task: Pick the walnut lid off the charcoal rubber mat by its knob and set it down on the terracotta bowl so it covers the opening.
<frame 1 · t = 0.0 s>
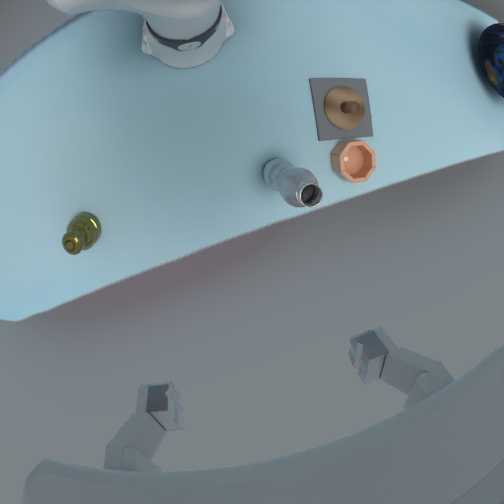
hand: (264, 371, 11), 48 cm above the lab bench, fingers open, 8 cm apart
lid: (344, 107, 50), point 1 cm above the lab bench, touching mat
bowl: (348, 159, 56), on the lab bench
globe: (484, 63, 46), on the lab bench
mat: (342, 107, 51), on the lab bench
gold chess piece: (87, 227, 53), on the lab bench
plastic bottle: (276, 172, 56), on the lab bench
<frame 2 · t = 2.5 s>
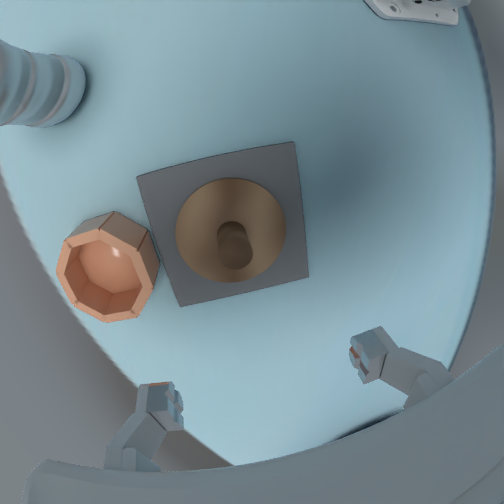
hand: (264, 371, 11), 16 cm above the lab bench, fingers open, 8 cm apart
lid: (230, 231, 25), point 1 cm above the lab bench, touching mat
bowl: (114, 257, 25), on the lab bench
mat: (230, 229, 25), on the lab bench
plastic bottle: (63, 93, 17), on the lab bench
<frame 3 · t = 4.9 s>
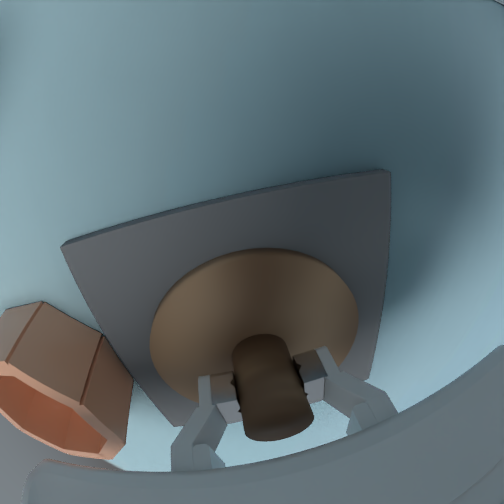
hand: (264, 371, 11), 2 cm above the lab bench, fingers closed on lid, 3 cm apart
lid: (256, 342, 13), point 1 cm above the lab bench, touching gripper, mat
bowl: (61, 364, 12), on the lab bench
mat: (254, 334, 13), on the lab bench
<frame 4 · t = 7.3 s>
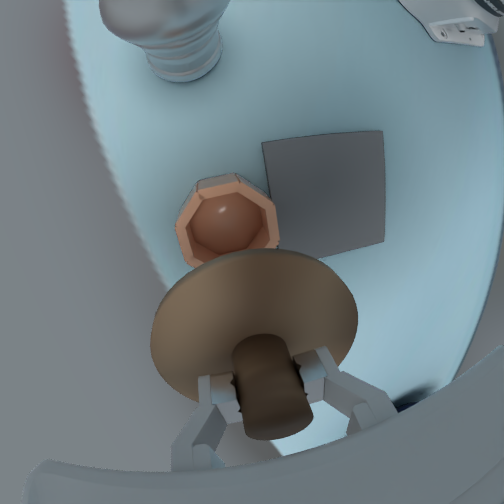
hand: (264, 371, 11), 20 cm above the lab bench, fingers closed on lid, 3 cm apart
lid: (256, 342, 13), point 18 cm above the lab bench, touching gripper
bowl: (225, 218, 28), on the lab bench
mat: (332, 196, 29), on the lab bench
plastic bottle: (186, 56, 20), on the lab bench
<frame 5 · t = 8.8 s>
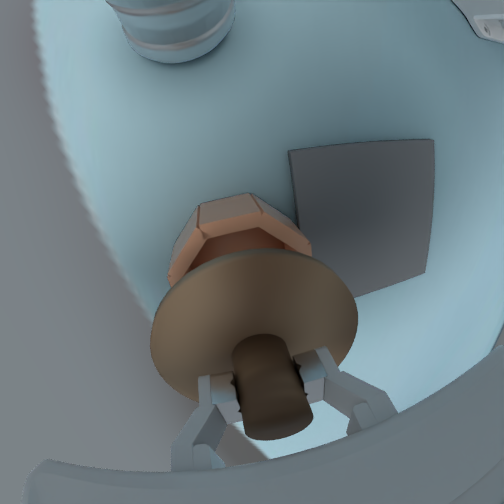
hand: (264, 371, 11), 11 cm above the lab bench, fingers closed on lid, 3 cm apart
lid: (256, 342, 13), point 9 cm above the lab bench, touching gripper
bowl: (236, 253, 21), on the lab bench
mat: (373, 222, 22), on the lab bench
plastic bottle: (182, 30, 13), on the lab bench
when the fingers open (8 cm above the lab bench, at t = 10.1 s): lid drops 1 cm, resting on bowl.
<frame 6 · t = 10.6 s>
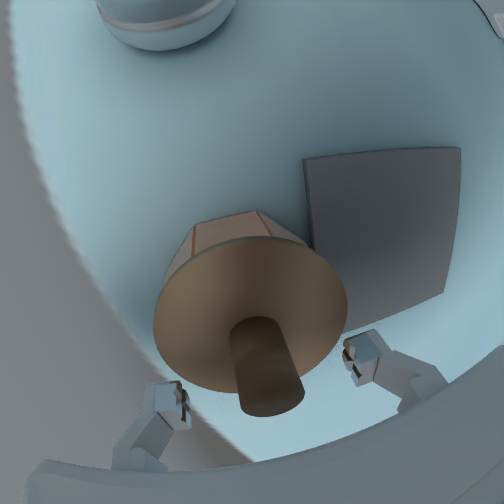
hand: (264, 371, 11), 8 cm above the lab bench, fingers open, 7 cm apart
lid: (252, 325, 14), point 4 cm above the lab bench, touching bowl
bowl: (240, 281, 18), on the lab bench
mat: (395, 241, 19), on the lab bench
plastic bottle: (174, 13, 10), on the lab bench
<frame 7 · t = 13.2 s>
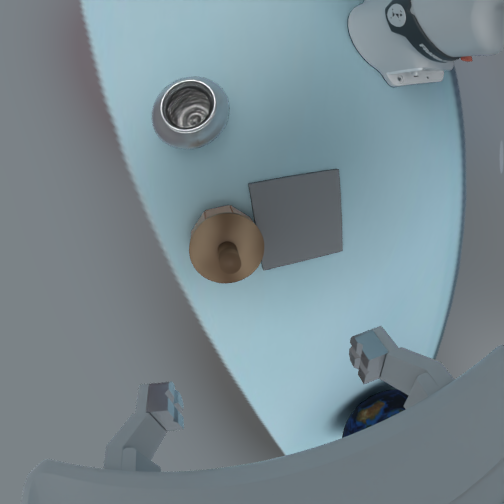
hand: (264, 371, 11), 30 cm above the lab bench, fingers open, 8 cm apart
lid: (226, 248, 37), point 4 cm above the lab bench, touching bowl
bowl: (223, 236, 41), on the lab bench
globe: (370, 400, 73), on the lab bench
mat: (299, 219, 42), on the lab bench
plastic bottle: (195, 120, 33), on the lab bench
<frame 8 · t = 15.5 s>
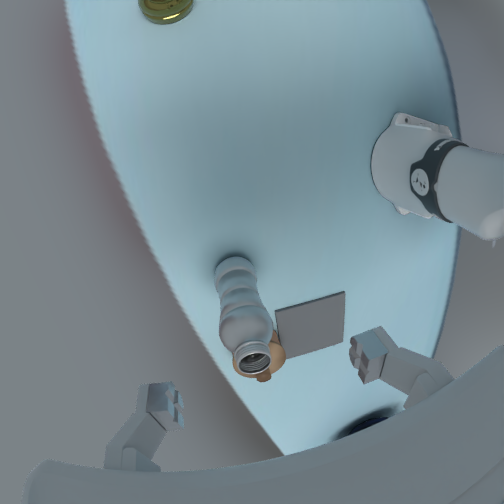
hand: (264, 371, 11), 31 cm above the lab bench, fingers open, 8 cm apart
lid: (259, 358, 48), point 4 cm above the lab bench, touching bowl
mat: (312, 327, 53), on the lab bench
gold chess piece: (168, 6, 25), on the lab bench
plastic bottle: (233, 269, 44), on the lab bench
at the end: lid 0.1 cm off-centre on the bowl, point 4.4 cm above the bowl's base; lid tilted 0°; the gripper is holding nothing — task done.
